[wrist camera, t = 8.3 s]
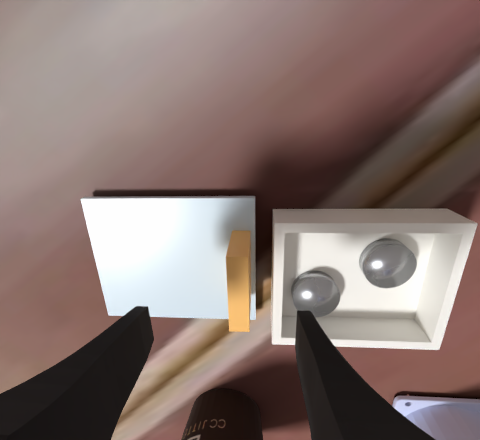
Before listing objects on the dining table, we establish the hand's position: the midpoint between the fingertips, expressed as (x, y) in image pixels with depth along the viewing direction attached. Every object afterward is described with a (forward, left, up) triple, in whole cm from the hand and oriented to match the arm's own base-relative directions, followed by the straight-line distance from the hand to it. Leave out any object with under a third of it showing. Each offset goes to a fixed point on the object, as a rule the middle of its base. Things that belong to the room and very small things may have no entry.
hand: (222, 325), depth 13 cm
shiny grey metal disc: (-10, 0, -7) cm, 12 cm away
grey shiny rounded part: (-6, +2, -7) cm, 9 cm away
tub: (-8, +1, -7) cm, 11 cm away
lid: (+4, 0, -7) cm, 8 cm away
